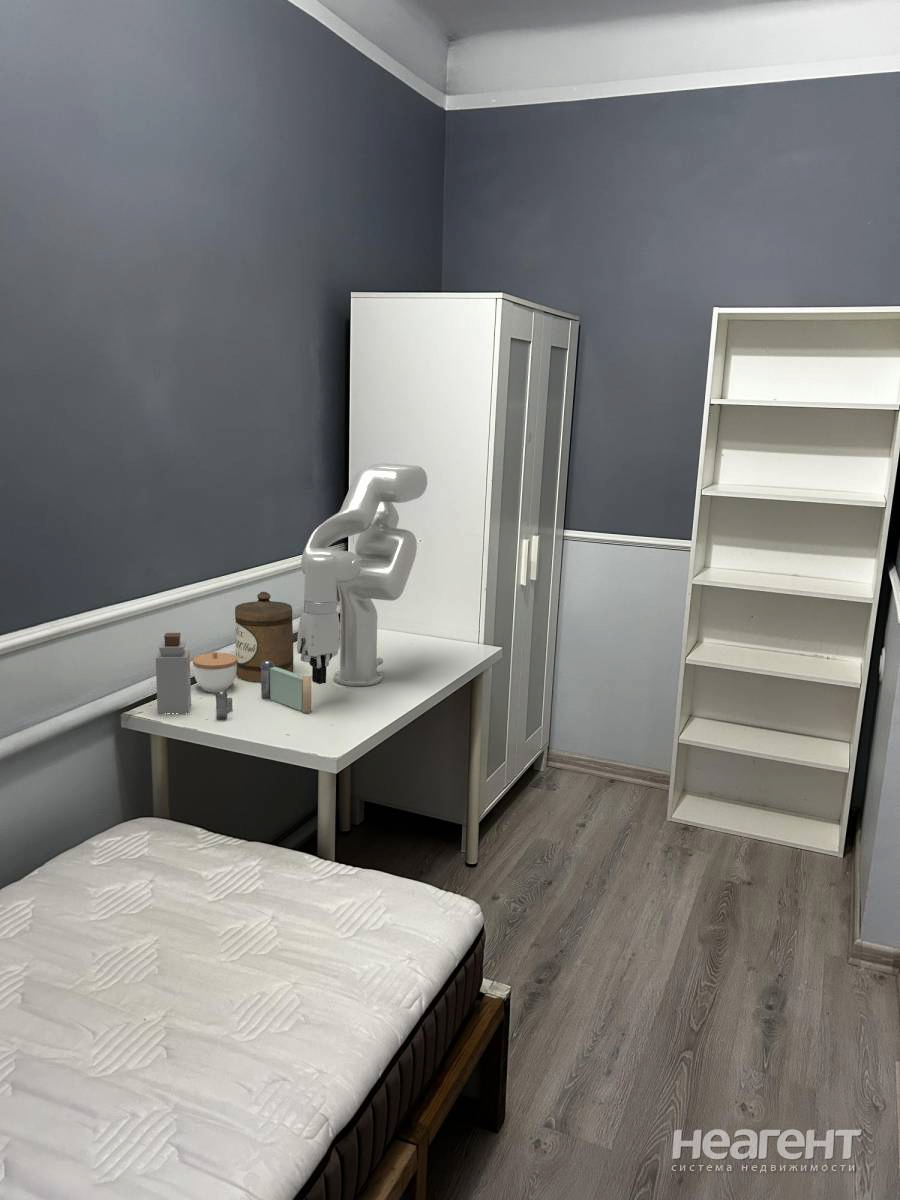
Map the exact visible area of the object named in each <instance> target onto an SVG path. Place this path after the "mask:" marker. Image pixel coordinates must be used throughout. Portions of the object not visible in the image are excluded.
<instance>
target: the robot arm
mask: <svg viewBox="0 0 900 1200" xmlns="http://www.w3.org/2000/svg"><path fill="white" fill-rule="evenodd" d="M427 486H428V476H427V472H426V471H425V469H424V468H423V467H422V466H419V465H414V464H412V465H411V464H399V463H398V464H397V463H385V462H384V463H383V462H382V463H374V464H371V465H369V466H368V467H363V468H361V469H359V470H358V471H357V472H356V473H355V475H354V477H353V478H352V482H351V485H350V486H349V489H348V491H347V494H346V496H345V498H344V500H343V503H342V506H341V507H340V510H339V511H338V512H337V513H335V514H334V515H332V516H331V517H329V518H327V519H326V520H325V521H324V522H322V523H321V524H320V525H318V527H316V528H315V530H313V532H312V533H311V535H310V536H309V539H308V541H307V543H306V545H305V548H304V550H303V552H302V556H301V558H300V559H301V560H300V567H301V571H302V573H303V575H304V593H303V594H304V595H303V597H304V599H303V600H304V606H303V607H304V608H303V611H304V612H302V613H301V615H300V618H299V622H298V629H297V642H296V650H297V651H296V652H297V653H298V655H299V654H300V655H301V656H300V661H301V662H304V663H309V665H310V667H312V671H311V675H312V676H311V682H312V683H315V684H318V685H323V684H326V683H327V668H328V666H329V665H330V661H331V659H332V658H333V657H336V656H337V655H338V654H339V670H337V671H336V672H334V673H333V680H334V681H335V682H336V683H338V684H341V685H345V686H349V687H365V686H366V687H367V686H374V685H377V684H378V683H380V682H381V681H382V680H383V674H382V672H381V671H378V666H381V665H383V663H384V660H383V658H382V657H377V655H378V652H377V651H378V611H377V608H376V606H375V604H374V602H373V600H380V601H387V602H388V601H389V602H390V601H396V600H398V599H399V598H400V597H401V596H402V595H403V592H404V591H405V587H406V585H407V582H408V579H409V578H410V577H409V576H410V574H411V570H412V568H413V565H414V562H415V560H416V555H417V549H418V543H417V538H416V536H415V535H414V533H413V532H412V531H410V530H408V529H404V528H397V527H398V523H399V520H400V515H399V513H398V511H397V509H396V507H395V505H394V504H393V503H395V504H399V503H400V504H403V503H404V504H405V503H407V502H411V501H414V500H416V499H417V500H418V499H420V498H421V497H422V496H423V495H424V494H425V492H426V490H427ZM356 535H358V537H357V540H356V542H355V548H354V551H355V552H352V551H348V550H341V549H340V550H339V549H332V548H331V549H330V548H328V547H330V546H331V545H332V544H333V543H336V542H337V541H339V540H341V539H344V538H347V537H351V536H356ZM338 595H339V597H338ZM337 597H338V598H339V599H338V598H337ZM338 605H339V606H340V608H339V609H340V617H339V612H338V611H337V607H338Z"/></svg>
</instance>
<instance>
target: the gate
mask: <svg viewBox="0 0 900 1200" xmlns="http://www.w3.org/2000/svg"><path fill="white" fill-rule="evenodd" d="M270 700H271V701H273V702H277V703H279V704H282V705H286V706H288V707H289V708H293V709H295V710H298V711H301V712H303V713H307V714H309V713H311V712H312V676H304V675H300V674H299V673H296V672H295V673H294V672H293V673H292V672H289V671H286V670H284V669H281V668H278V667H273V668H270Z"/></svg>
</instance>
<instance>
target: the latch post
mask: <svg viewBox="0 0 900 1200" xmlns="http://www.w3.org/2000/svg"><path fill="white" fill-rule="evenodd" d="M215 702H216V703H215V704H216V705H215V708H216V709H215V710H216V711H215V714H216V717H215V718H216V720H217V721H226V720H228V713H230V712H232V711H233V698H232V697H228V693H227V692H226V691H218V692H215Z"/></svg>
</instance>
